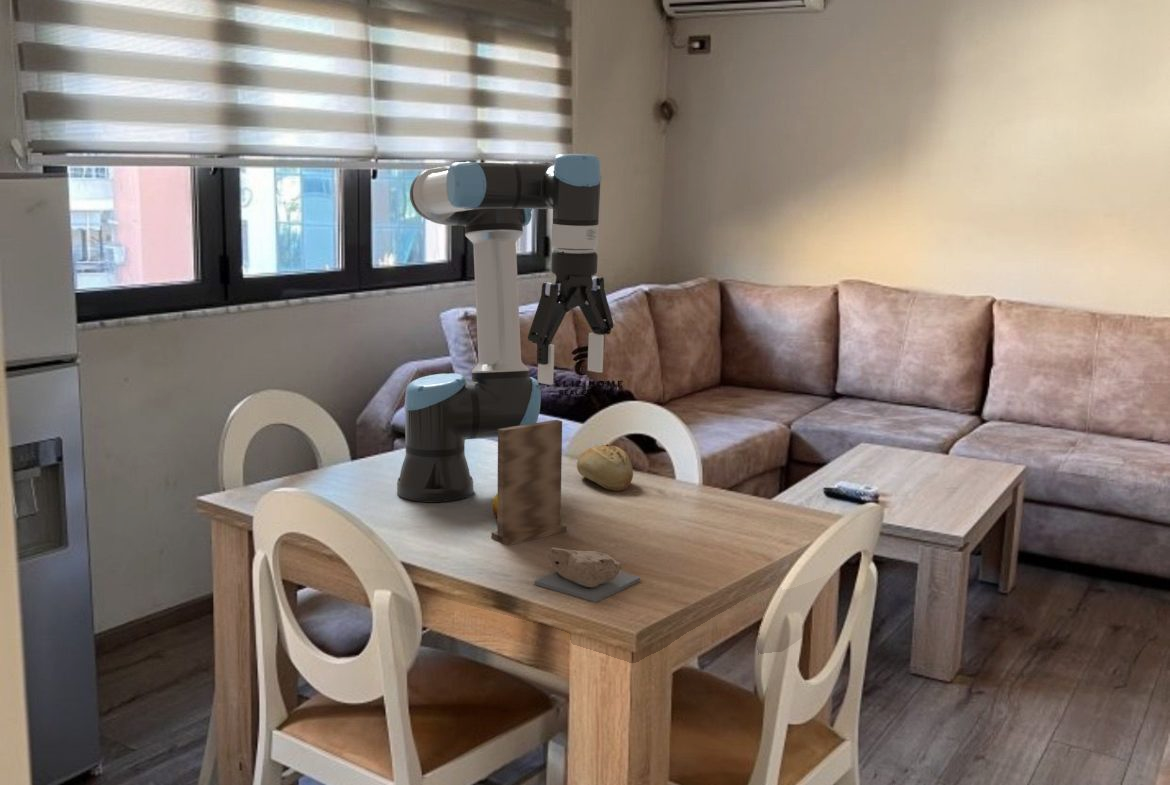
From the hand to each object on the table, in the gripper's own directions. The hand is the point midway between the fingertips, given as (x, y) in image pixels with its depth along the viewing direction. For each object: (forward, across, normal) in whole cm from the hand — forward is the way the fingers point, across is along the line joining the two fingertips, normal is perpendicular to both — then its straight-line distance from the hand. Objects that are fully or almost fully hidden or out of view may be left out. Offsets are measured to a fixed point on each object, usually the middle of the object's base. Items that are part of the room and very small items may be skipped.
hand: (570, 377), depth 197 cm
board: (+30, +1, +9) cm, 31 cm away
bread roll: (+31, +38, +19) cm, 52 cm away
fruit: (+31, +8, +16) cm, 36 cm away
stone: (+29, -13, -13) cm, 34 cm away
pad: (+29, -12, -14) cm, 34 cm away
